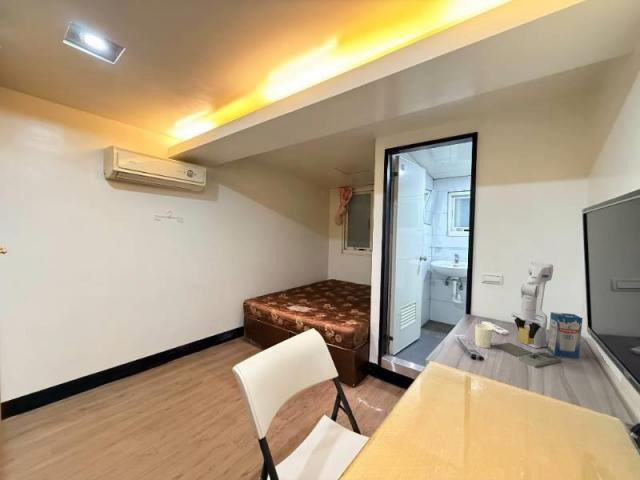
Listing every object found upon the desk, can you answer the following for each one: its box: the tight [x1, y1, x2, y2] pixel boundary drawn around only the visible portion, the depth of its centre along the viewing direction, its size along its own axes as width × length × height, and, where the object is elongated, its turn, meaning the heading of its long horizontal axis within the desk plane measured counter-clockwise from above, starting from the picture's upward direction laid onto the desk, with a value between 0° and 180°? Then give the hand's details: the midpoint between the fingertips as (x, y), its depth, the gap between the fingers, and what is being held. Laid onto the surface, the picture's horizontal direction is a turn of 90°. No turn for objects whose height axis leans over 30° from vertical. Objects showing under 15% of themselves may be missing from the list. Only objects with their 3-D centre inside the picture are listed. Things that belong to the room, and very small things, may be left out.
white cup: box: [474, 323, 494, 349], centre depth 141 cm, size 8×8×10 cm
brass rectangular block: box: [517, 325, 534, 346], centre depth 131 cm, size 4×4×7 cm
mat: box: [492, 342, 534, 358], centre depth 138 cm, size 12×12×1 cm
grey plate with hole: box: [518, 350, 562, 368], centre depth 127 cm, size 18×7×2 cm, turn 110°
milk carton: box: [547, 311, 583, 360], centre depth 134 cm, size 10×6×20 cm, turn 76°
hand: (526, 336), depth 131 cm, fingers closed on brass rectangular block, 4 cm apart
